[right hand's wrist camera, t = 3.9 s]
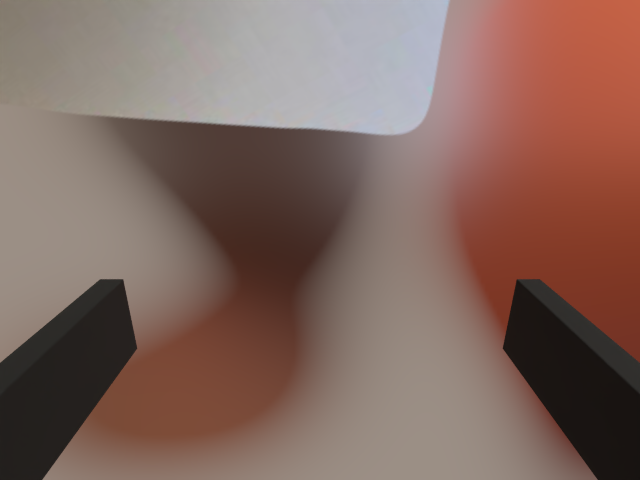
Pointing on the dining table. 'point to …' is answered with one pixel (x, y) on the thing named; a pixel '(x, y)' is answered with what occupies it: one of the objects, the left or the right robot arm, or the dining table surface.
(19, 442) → the right robot arm
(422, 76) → the dining table surface
